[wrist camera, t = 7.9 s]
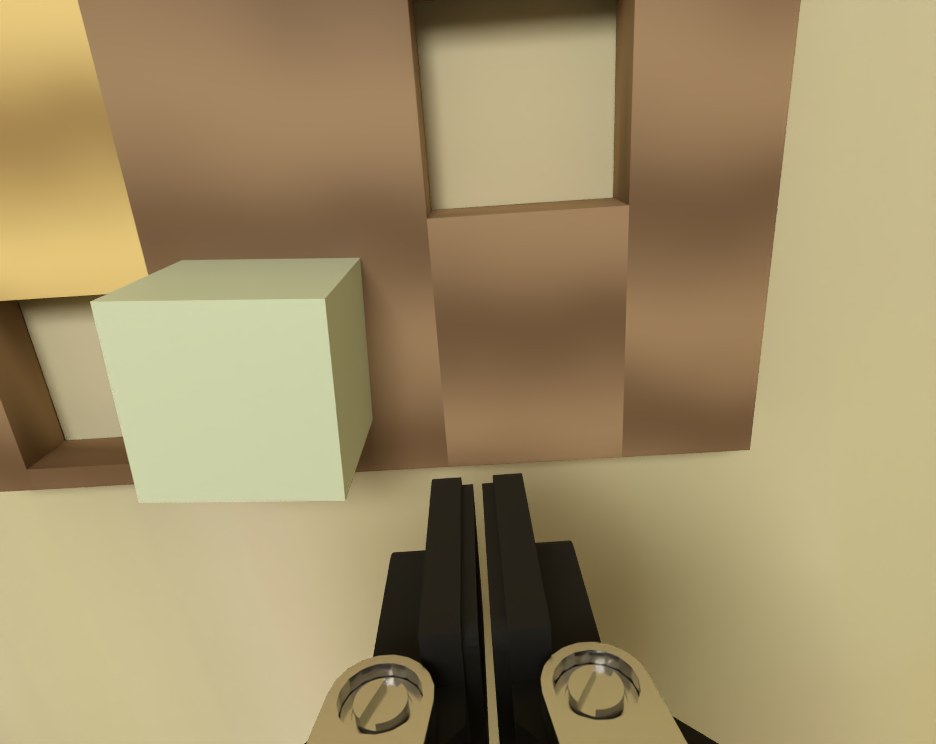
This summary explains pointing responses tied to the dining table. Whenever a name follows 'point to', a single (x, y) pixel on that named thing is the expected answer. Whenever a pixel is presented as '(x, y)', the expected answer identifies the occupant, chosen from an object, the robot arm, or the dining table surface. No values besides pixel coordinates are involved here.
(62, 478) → the board with square holes
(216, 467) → the block
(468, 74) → the dining table surface
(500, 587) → the robot arm
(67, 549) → the dining table surface
